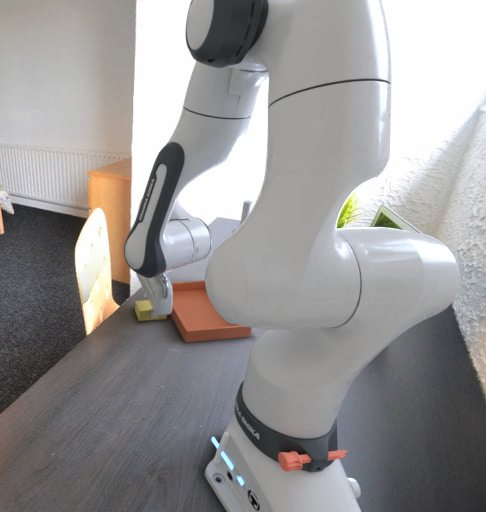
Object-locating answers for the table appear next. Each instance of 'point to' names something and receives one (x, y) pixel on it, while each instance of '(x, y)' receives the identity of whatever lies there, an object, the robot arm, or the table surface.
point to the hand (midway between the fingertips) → (151, 309)
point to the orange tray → (200, 315)
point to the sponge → (145, 311)
